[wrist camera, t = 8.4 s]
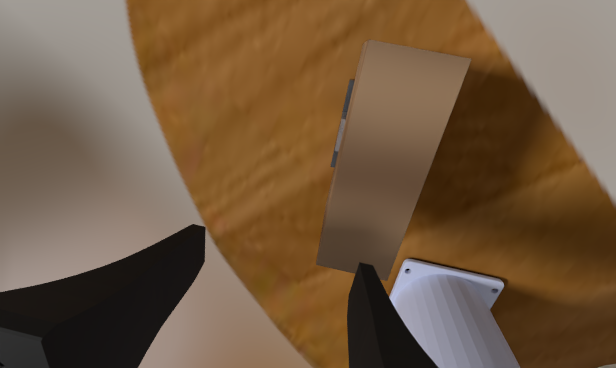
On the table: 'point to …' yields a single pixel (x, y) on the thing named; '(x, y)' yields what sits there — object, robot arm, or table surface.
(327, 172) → the table surface
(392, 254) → the rectangular block
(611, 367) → the cylinder with rectangular tab
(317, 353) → the table surface
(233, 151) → the table surface
